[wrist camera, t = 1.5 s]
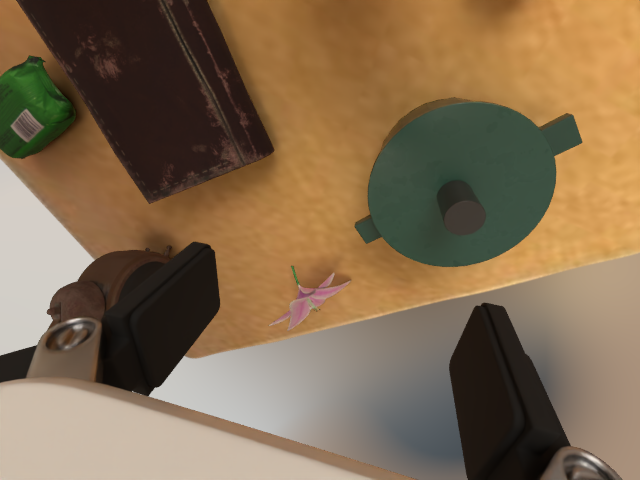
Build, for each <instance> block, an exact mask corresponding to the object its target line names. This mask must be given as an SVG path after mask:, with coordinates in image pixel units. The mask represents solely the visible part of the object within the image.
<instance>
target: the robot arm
mask: <svg viewBox="0 0 640 480" xmlns="http://www.w3.org/2000/svg"><path fill="white" fill-rule="evenodd" d="M219 308H220V297H219V287H218V278H217V269H216V259H215V252H214V250H213V249H211V246H210V245H208V244H203V243H198V242H193V243H191V244H190V245H189V246H187V247H186V248H185V249H184V250H182V251H181V252H180V253H179V254H177V255H176V256H175V257H174V258H172V259H171V260H170V261H169V262H167V263H166V264H165V265H164V266H162V267H161V268H160V269H159V270H157V271H156V272H155V273H154V274H152V275H151V276H150V277H149V278H147V279H146V280H145V281H144V282H142V283H141V284H140V285H139V286H137V287H136V288H135V289H134V290H132V291H131V292H130V293H129V294H127V295H126V296H125V297H124V298H122V299H121V300H120V301H119V302H117V303H116V304H115V305H114V306H112V307H111V308H110V309H109V310H107V311H106V312H105V316H106V317H104V318H103V319H102V320H101V321H100V320H99V319H98V318H95V317H93V316H79V317H74V318H70V319H67V320H65V321H62V322H60V323H58V324H56V325H55V326H53V327H52V328H50V329H49V330H47V331H46V333H44V334H43V335H42V337H41V339H40V340H39V342H38V345H36V346H33V347H29V348H26V349H22V350H18V351H15V352H11V353H8V354H4V355H1V356H0V480H416V479H414V478H410V477H407V476H404V475H400V474H398V473H394V472H391V471H388V470H385V469H382V468H379V467H375V466H372V465H369V464H366V463H362V462H359V461H356V460H353V459H350V458H347V457H344V456H340V455H337V454H334V453H331V452H328V451H325V450H321V449H318V448H315V447H312V446H309V445H305V444H302V443H299V442H295V441H292V440H289V439H286V438H282V437H279V436H276V435H273V434H270V433H267V432H263V431H260V430H257V429H253V428H250V427H247V426H244V425H241V424H237V423H234V422H231V421H228V420H224V419H221V418H218V417H214V416H211V415H208V414H204V413H201V412H198V411H195V410H191V409H188V408H184V407H181V406H178V405H174V404H171V403H168V402H165V401H162V400H158V399H154V398H151V397H148V396H149V394H150V393H151V392H152V391H153V389H154V388H155V387H159V386H161V385H162V383H163V382H164V381H165V380H166V378H167V377H168V376H169V375H170V373H171V372H172V371H173V369H174V368H175V367H176V365H177V364H178V363H179V362H180V360H181V359H182V358H183V356H184V355H185V354H186V353H187V351H188V350H189V349H190V347H191V346H192V345H193V343H194V342H195V341H196V340H197V338H198V337H199V336H200V334H201V333H202V332H203V331H204V329H205V328H206V327H207V325H208V324H209V323H210V322H211V320H212V319H213V318H214V316H215V315H216V314H217V312H218V310H219ZM449 371H450V377H451V383H452V389H453V395H454V402H455V408H456V414H457V419H458V426H459V431H460V438H461V443H462V450H463V456H464V462H465V468H466V474H467V478H468V480H622V478H621V477H620V476H619V475H618V474H617V473H616V472H615V471H614V470H613V469H612V468H611V467H610V466H609V465H607V464H606V463H605V462H604V461H602V460H601V459H600V458H598V457H597V456H595V455H593V454H592V453H590V452H588V451H585V450H583V449H581V448H577V447H572V446H571V445H570V443H569V441H568V439H567V437H566V434H565V432H564V430H563V428H562V426H561V424H560V421H559V419H558V417H557V415H556V413H555V410H554V409H553V406H552V404H551V402H550V400H549V397H548V395H547V393H546V391H545V389H544V386H543V384H542V382H541V380H540V378H539V376H538V373H537V371H536V369H535V367H534V365H533V363H532V360H531V359H530V358H529V356H528V355H526V354H525V352H524V350H523V348H522V345H521V343H520V341H519V339H518V337H517V334H516V332H515V330H514V327H513V325H512V323H511V321H510V319H509V316H508V314H507V312H506V310H505V308H504V307H503V306H498V305H494V304H489V303H482V305H481V306H475V308H474V310H473V312H472V314H471V316H470V318H469V320H468V322H467V325H466V327H465V329H464V331H463V334H462V336H461V338H460V340H459V342H458V344H457V346H456V349H455V351H454V353H453V355H452V357H451V360H450V364H449ZM132 391H133V392H132ZM134 392H136V393H134ZM137 393H139V394H137ZM140 394H142V395H140Z"/></svg>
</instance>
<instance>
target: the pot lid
mask: <svg viewBox="0 0 640 480" xmlns="http://www.w3.org/2000/svg"><path fill="white" fill-rule="evenodd" d="M555 184H556V165H555V158H554V155H553V151H552V148H551V146H550V144H549V142H548V140H547V138H546V137H545V135H544V134H543V133H542V131H541V130H540V129H539V128H538V127H537V126H536V125H535V124H534V123H533V122H532V121H531V120H530V119H528V118H527V117H525V116H524V115H522V114H521V113H519V112H517V111H515V110H512V109H510V108H508V107H505V106H502V105H498V104H494V103H488V102H481V101H465V102H458V103H451V104H447V105H444V106H440V107H437V108H434V109H432V110H430V111H427V112H425V113H423V114H421V115H419V116H418V117H416V118H414V119H412V120H411V121H410V122H408V123H407V124H406V125H404V126H403V127H402V128H401V129H400V130H398V131H397V132H396V133H395V134H394V135H393V136H392V137H391V139H390V140H389V141H388V142H387V143H386V144H385V146H384V147H383V149H382V150H381V152H380V154H379V155H378V157H377V159H376V161H375V163H374V166H373V169H372V172H371V175H370V180H369V185H368V205H369V210H370V214H371V217H372V220H373V223H374V225H375V227H376V228H377V230H378V232H379V233H380V235H381V236H382V237H383V239H384V240H385V241H386V242H387V243H388V244H389V245H390V246H391V247H392V248H394V249H395V250H396V251H398V252H399V253H401V254H402V255H404V256H406V257H408V258H410V259H412V260H414V261H417V262H421V263H424V264H428V265H433V266H442V267H458V266H467V265H472V264H477V263H480V262H483V261H486V260H489V259H492V258H494V257H496V256H499V255H501V254H502V253H504V252H506V251H508V250H510V249H511V248H512V247H514V246H515V245H517V244H518V243H519V242H521V241H522V240H523V239H524V238H525V237H526V236H528V235H529V234H530V232H531V231H532V230H533V229H534V228H535V227H536V226H537V224H538V223H539V222H540V220H541V219H542V218H543V216H544V214H545V212H546V210H547V209H548V207H549V204H550V202H551V199H552V197H553V193H554V188H555Z"/></svg>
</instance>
